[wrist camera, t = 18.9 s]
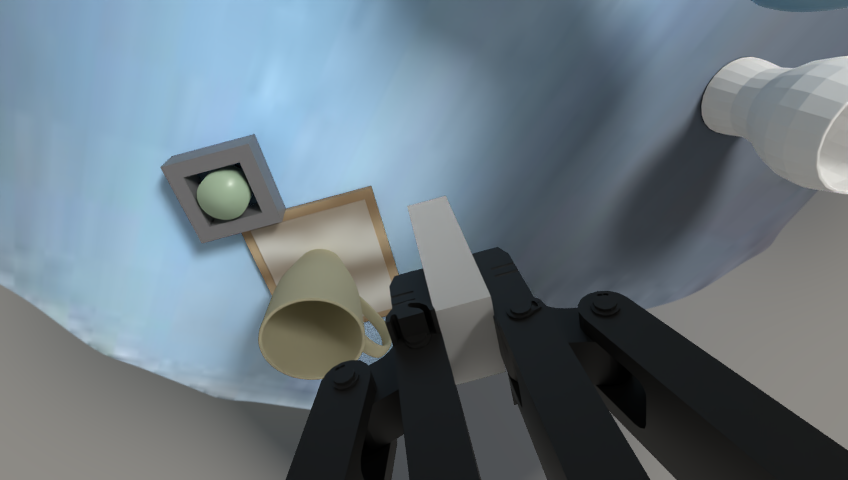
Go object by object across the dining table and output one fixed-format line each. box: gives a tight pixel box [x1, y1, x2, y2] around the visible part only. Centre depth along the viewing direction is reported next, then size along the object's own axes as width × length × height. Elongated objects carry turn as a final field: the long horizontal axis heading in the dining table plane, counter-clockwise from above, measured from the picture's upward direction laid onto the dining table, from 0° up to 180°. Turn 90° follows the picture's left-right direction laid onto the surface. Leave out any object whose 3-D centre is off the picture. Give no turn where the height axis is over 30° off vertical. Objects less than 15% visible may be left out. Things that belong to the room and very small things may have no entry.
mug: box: [258, 249, 391, 380], centre depth 46 cm, size 11×10×12 cm
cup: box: [701, 56, 848, 194], centre depth 42 cm, size 11×11×15 cm
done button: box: [197, 165, 253, 220], centre depth 44 cm, size 4×4×3 cm
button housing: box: [161, 134, 286, 243], centre depth 45 cm, size 8×8×3 cm
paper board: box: [242, 186, 399, 322], centre depth 52 cm, size 16×14×1 cm
